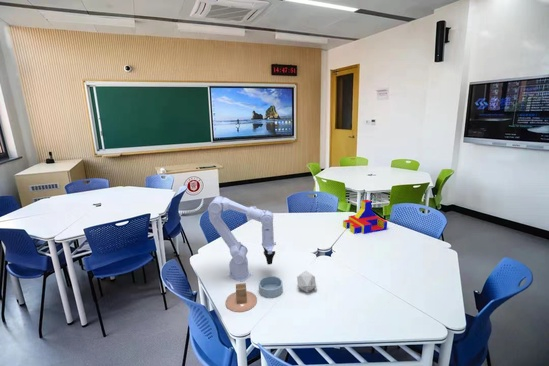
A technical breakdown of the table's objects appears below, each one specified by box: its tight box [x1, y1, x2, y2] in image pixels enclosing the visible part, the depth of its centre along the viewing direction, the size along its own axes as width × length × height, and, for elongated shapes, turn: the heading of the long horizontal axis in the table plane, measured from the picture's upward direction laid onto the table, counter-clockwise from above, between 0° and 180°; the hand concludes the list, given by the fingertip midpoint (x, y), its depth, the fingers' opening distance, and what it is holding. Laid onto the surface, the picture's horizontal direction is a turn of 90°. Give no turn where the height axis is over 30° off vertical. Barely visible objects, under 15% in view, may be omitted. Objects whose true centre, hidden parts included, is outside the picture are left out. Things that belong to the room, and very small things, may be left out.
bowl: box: [258, 275, 284, 299], centre depth 134 cm, size 11×11×4 cm
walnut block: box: [235, 282, 247, 304], centre depth 127 cm, size 4×4×7 cm
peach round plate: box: [225, 290, 258, 313], centre depth 128 cm, size 14×14×1 cm
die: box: [296, 270, 317, 293], centre depth 135 cm, size 8×9×10 cm
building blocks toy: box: [342, 199, 388, 235], centre depth 202 cm, size 19×25×18 cm
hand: (268, 260), depth 144 cm, fingers open, 7 cm apart
